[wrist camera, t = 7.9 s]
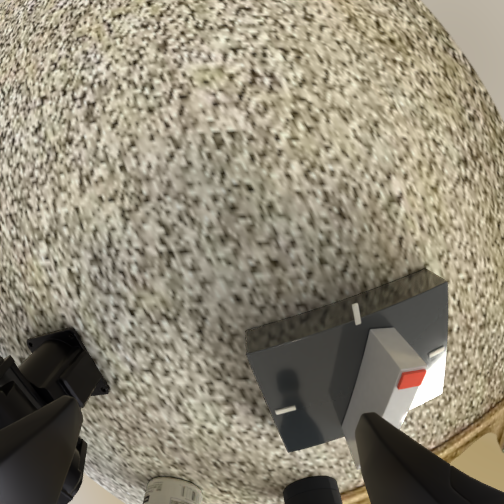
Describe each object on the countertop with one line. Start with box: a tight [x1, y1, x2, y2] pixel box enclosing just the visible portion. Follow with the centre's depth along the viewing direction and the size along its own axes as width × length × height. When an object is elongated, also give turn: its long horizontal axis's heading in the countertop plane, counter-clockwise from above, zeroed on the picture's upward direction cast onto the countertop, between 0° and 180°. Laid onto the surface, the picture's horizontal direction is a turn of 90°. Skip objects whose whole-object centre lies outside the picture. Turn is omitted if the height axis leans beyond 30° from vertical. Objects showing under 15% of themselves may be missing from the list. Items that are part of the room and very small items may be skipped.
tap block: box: [245, 269, 448, 453], centre depth 20 cm, size 14×13×3 cm
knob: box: [342, 327, 427, 469], centre depth 16 cm, size 9×2×5 cm, turn 177°
